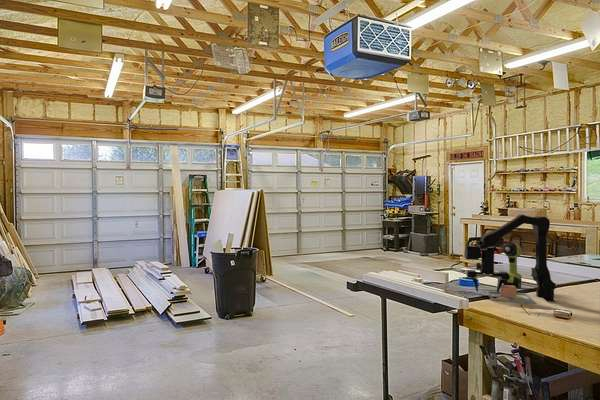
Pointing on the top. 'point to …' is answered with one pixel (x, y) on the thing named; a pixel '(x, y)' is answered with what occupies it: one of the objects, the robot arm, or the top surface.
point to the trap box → (518, 296)
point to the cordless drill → (513, 264)
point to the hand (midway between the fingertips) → (487, 292)
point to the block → (508, 291)
